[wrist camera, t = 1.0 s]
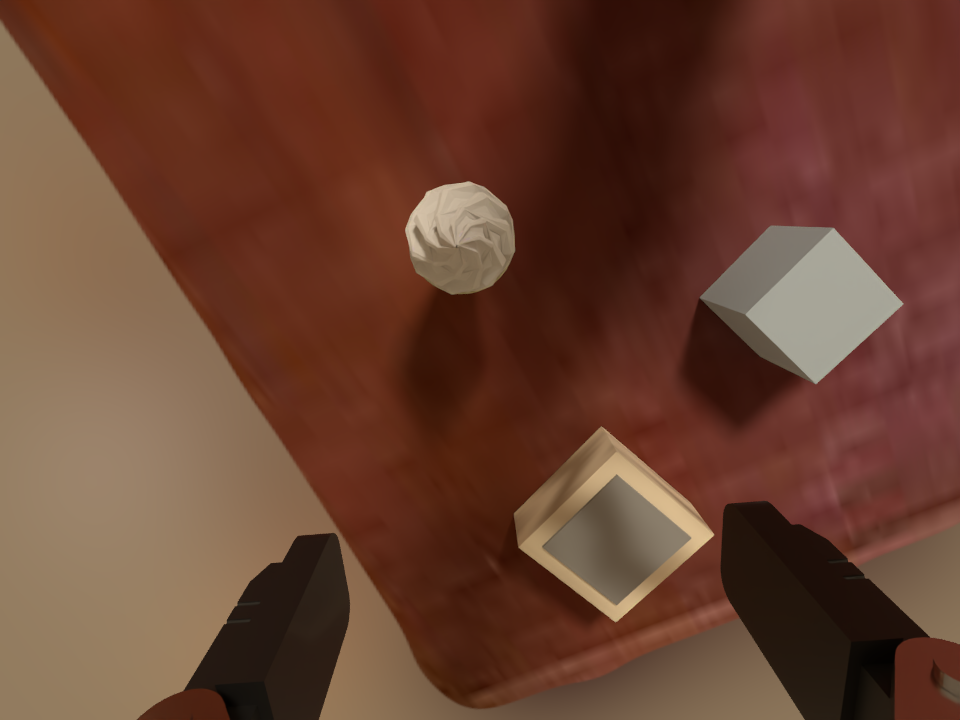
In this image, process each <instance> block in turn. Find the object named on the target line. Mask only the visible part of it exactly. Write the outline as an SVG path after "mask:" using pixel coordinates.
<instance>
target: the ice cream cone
mask: <svg viewBox="0 0 960 720" xmlns="http://www.w3.org/2000/svg"><path fill="white" fill-rule="evenodd" d="M405 232H406V236H407V239H408V243H409V249H410V258H411V261H412V263H413V266H414V268H415V271H416V273H418V274H419V275H421V276H423V277H424V278H425V279H426V280H427V281H428V282H430V283H431V284H432V285H433V286H435V287H437V288H439V289H441V290H443V291H446V292H448V293H450V294H451V295H454V294H470V293H474V292H478V291H481V290H483V289H486V288H487V287H490V286H493V284H494V283H495V282H496V281H497V280H498V279H499V278H500V277H501V276H502V275H503V273H504V272H505V271H506V269H507V267H508V266H509V264H510V262H511V259H512V257H513V255H514V252H515V234H514V228H513V219H512V217H511V215H510V213H509V211H508V208H507V206H506V205H505V204H503V203H502V202H501V201H500V200H499V199H498V198H497V197H496V196H494V195H493V194H492V193H491V192H490V191H489V190H487V189H486V188H485V187H483V186H480V185H477V184H474V183H472V182H469V181H468V182H465V183H457V184H449V185H444V186H440V187H438V188H435V189H433V190H431V191H428V192H427V193H426V195H425V197H424V198H423V200H422V201H421V202H420V203H419V205H418V206H417V207H416V208H415V210H414V211H413V212H412V214H411V216H410V218H409V221H408V224H407V226H406V229H405Z"/></svg>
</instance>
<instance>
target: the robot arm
mask: <svg viewBox="0 0 960 720" xmlns="http://www.w3.org/2000/svg"><path fill="white" fill-rule="evenodd" d="M721 578H722V583H723V586H724V590H725V592H726V595H727V597H728V599H729V601H730V603H731V604H732V606H733V608H734V609H735V611H736V612H737V614H738V615H739V617H740V619H741V620H742V622H743V623H744V625H745V626H746V628H747V630H748V631H749V633H750V634H751V635H752V637H753V639H754V641H755V642H756V644H757V645H758V647H759V648H760V650H761V652H762V653H763V655H764V656H765V658H766V659H767V661H768V662H769V664H770V666H771V667H772V669H773V670H774V672H775V673H776V675H777V677H778V678H779V680H780V681H781V683H782V684H783V686H784V688H785V689H786V691H787V692H788V694H789V696H790V697H791V699H792V700H793V702H794V703H795V705H796V707H797V708H798V710H799V711H800V713H801V714H802V716H803V718H804V719H805V720H960V645H959V644H957V643H954V642H950V641H946V640H942V639H936V638H930V637H929V636H928V635H927V634H926V633H925V632H924V631H923V630H922V629H921V628H920V627H919V626H918V625H917V624H916V623H915V622H914V621H913V620H911V619H910V618H909V617H908V616H907V615H906V614H905V613H904V612H903V611H902V610H901V609H900V608H899V607H898V606H897V605H896V604H895V603H894V602H893V601H892V600H890V599H889V598H888V597H887V596H886V595H885V594H884V593H883V592H882V591H881V590H880V589H879V588H878V587H877V586H876V585H875V584H874V583H872V582H871V580H869V579H865V577H864V574H863V573H862V572H861V571H860V570H859V569H858V568H857V567H856V566H855V565H854V564H853V563H852V562H848V560H847V558H846V557H845V556H844V555H843V554H842V553H841V552H840V551H839V550H838V549H837V548H836V547H835V546H834V545H833V544H832V543H831V542H830V541H828V540H827V539H826V538H824V537H822V536H820V535H818V534H817V533H815V532H813V531H811V530H809V529H808V528H806V527H804V526H802V525H800V524H797V525H791V524H790V523H789V522H788V521H787V519H786V518H785V517H784V516H783V515H782V514H781V513H780V512H779V511H778V510H777V509H776V508H775V507H774V506H773V505H772V504H770V503H769V502H767V501H758V502H745V503H732V504H727V505H726V506H725V509H724V513H723V530H722V550H721ZM349 613H350V600H349V592H348V586H347V582H346V576H345V570H344V565H343V560H342V554H341V549H340V544H339V540H338V537H337V535H336V534H335V533H329V534H315V535H303V536H298V537H297V538H296V539H295V540H294V542H293V544H292V546H291V548H290V549H289V551H288V553H287V555H286V556H285V558H284V560H283V562H282V563H271V564H270V565H268V566H267V567H266V568H265V569H264V570H263V571H262V572H261V573H259V574H258V575H257V576H256V577H255V578H254V579H253V580H251V581H250V583H249V584H248V586H247V588H246V589H245V591H244V593H243V595H242V596H241V597H240V599H239V601H238V605H237V606H236V607H235V608H234V609H233V611H232V613H231V614H230V616H229V617H228V619H227V624H224V625H223V627H222V629H221V630H220V632H219V634H218V636H217V637H216V639H215V640H214V642H213V643H212V645H211V647H210V649H209V650H208V652H207V653H206V655H205V657H204V658H203V660H202V662H201V663H200V665H199V667H198V668H197V670H196V671H195V673H194V675H193V676H192V678H191V680H190V681H189V683H188V684H187V686H186V688H185V690H184V691H182V692H180V693H177V694H174V695H172V696H170V697H168V698H166V699H164V700H162V701H161V702H159V703H157V704H155V705H154V706H153V707H151V708H150V709H148V710H147V711H146V712H145V713H144V714H142V715H141V716H140V717H139V718H138V719H137V720H319V717H320V714H321V710H322V707H323V704H324V701H325V698H326V694H327V691H328V688H329V685H330V682H331V678H332V675H333V672H334V669H335V666H336V662H337V659H338V656H339V653H340V649H341V646H342V643H343V640H344V637H345V633H346V630H347V627H348V622H349Z"/></svg>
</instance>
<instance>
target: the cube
mask: <svg viewBox="0 0 960 720" xmlns="http://www.w3.org/2000/svg"><path fill="white" fill-rule="evenodd" d="M700 299H701V300H702V301H703V302H704V303H705V304H706V305H707V306H708V307H709V308H710V309H711V310H712V311H713V312H714V313H715V314H717V315H718V316H719V317H720V318H721V319H722V320H723V321H724V322H725V323H726V324H727V325H728V326H729V327H730V328H731V329H732V330H733V331H734V332H735V333H736V334H737V335H738V336H739V337H740V338H741V339H742V340H743V341H744V342H745V343H746V344H747V345H748V346H749V347H750V348H751V349H753V350H754V351H755V352H756V353H757V354H758V355H759V356H760V357H762V358H764V359H766V360H768V361H770V362H772V363H774V364H776V365H778V366H780V367H782V368H784V369H786V370H788V371H790V372H792V373H794V374H796V375H798V376H800V377H802V378H804V379H806V380H808V381H810V382H812V383H814V384H817V383H818V382H819V381H820V380H821V379H822V378H823V377H824V376H825V375H826V374H828V373H829V372H830V371H831V370H832V369H833V368H834V367H835V366H836V365H837V364H838V363H840V362H841V361H842V360H843V359H844V358H845V357H846V356H847V355H848V354H849V353H851V352H852V351H853V350H854V349H855V348H856V347H857V346H858V345H859V344H860V343H861V342H863V341H864V340H865V339H866V338H867V337H868V336H869V335H870V334H871V333H872V332H873V331H875V330H876V329H877V328H878V327H879V326H880V325H881V324H882V323H883V322H884V321H885V320H887V319H888V318H889V317H890V316H891V315H892V314H893V313H894V312H895V311H896V310H897V309H899V308H900V307H901V306H902V305H903V303H902V302H901V301H900V300H899V299H898V298H897V296H896V295H895V294H894V293H893V292H892V291H891V290H890V289H889V288H888V287H887V286H886V284H885V283H884V282H883V281H882V280H881V279H880V278H879V277H878V276H877V275H876V274H875V273H874V271H873V270H872V269H871V268H870V267H869V266H868V265H867V264H866V263H865V262H864V261H863V260H862V258H861V257H860V256H859V255H858V254H857V253H856V252H855V251H854V250H853V249H852V248H851V246H850V245H849V244H848V243H847V242H846V241H845V240H844V239H843V238H842V237H841V236H840V235H839V233H838V232H837V231H836V230H835V229H834V228H821V227H792V226H770V227H769V228H768V229H767V230H766V231H765V232H764V233H763V234H762V235H761V236H760V237H759V238H758V239H757V240H756V241H755V242H754V243H753V244H752V245H751V246H750V247H749V248H748V249H747V250H746V251H745V252H744V253H743V254H742V255H741V256H740V257H739V258H738V259H737V260H736V261H735V262H734V263H733V264H732V265H731V266H730V267H729V268H728V269H727V270H726V271H725V272H724V273H723V274H722V275H721V276H720V277H719V278H718V279H717V280H716V281H715V282H714V283H713V284H712V285H711V286H710V287H709V288H708V289H707V290H706V291H705V292H704V293H703V294H702V296H701V297H700Z"/></svg>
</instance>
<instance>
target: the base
mask: <svg viewBox="0 0 960 720" xmlns="http://www.w3.org/2000/svg"><path fill="white" fill-rule="evenodd" d="M514 519H515V526H516V534H517V541H518V548H520V549H521V550H522V551H524V552H525V553H526V554H528V555H529V556H530V557H531V558H533V559H534V560H535V561H537V562H538V563H539V564H541V565H542V566H543V567H544V568H546V569H547V570H548V571H550V572H551V573H552V574H554V575H555V576H556V577H557V578H559V579H560V580H561V581H563V582H564V583H565V584H567V585H568V586H569V587H570V588H572V589H573V590H574V591H576V592H577V593H578V594H580V595H581V596H582V597H584V598H585V599H586V600H587V601H589V602H590V603H591V604H593V605H594V606H595V607H597V608H598V609H599V610H600V611H602V612H603V613H604V614H606V615H607V616H608V617H610V618H611V619H612V620H613V621H615V622H617V621H618V620H619V619H620V618H621V617H622V616H624V615H625V614H626V613H627V612H628V611H629V610H630V609H632V608H633V607H634V606H635V605H636V604H637V603H638V602H639V601H641V600H642V599H643V598H644V597H645V596H646V595H647V594H648V593H650V592H651V591H652V590H653V589H654V588H655V587H656V586H657V585H659V584H660V583H661V582H662V581H663V580H664V579H665V578H666V577H668V576H669V575H670V574H671V573H672V572H673V571H674V570H675V569H677V568H678V567H679V566H680V565H681V564H682V563H683V562H685V561H686V560H687V559H688V558H689V557H690V556H691V555H692V554H694V553H695V552H696V551H697V550H698V549H699V548H700V547H701V546H703V545H704V544H705V543H706V542H707V541H708V540H709V539H710V538H712V537H713V536H714V534H713V532H712V531H711V530H710V528H709V527H708V526H707V524H706V523H705V522H704V520H703V519H702V518H701V516H700V515H699V514H698V512H697V511H696V510H695V508H694V507H693V506H692V504H691V503H690V502H689V501H688V500H687V499H686V498H684V497H683V496H682V495H681V494H680V493H679V492H677V491H676V490H675V489H674V488H673V487H672V486H670V485H669V484H668V483H667V482H666V481H665V480H663V479H662V478H661V477H660V476H659V475H658V474H656V473H655V472H654V471H653V470H652V469H651V468H649V467H648V466H647V465H646V464H645V463H644V462H643V461H641V460H640V459H639V458H638V457H637V456H636V455H634V454H633V453H632V452H631V451H630V450H629V449H627V448H626V447H625V446H624V445H623V444H622V443H620V442H619V441H618V440H617V439H616V438H615V437H613V436H612V435H611V434H610V433H609V432H608V431H607V430H605V429H604V428H603V427H602V426H601V427H600V428H599V429H598V430H597V431H596V432H595V433H594V434H593V435H592V436H591V437H590V438H589V439H588V440H587V441H586V442H585V443H584V444H583V445H582V446H581V447H580V448H579V449H578V450H577V451H576V452H575V453H574V454H573V455H572V456H571V457H570V458H569V459H568V460H567V461H566V462H565V463H564V464H563V465H562V466H561V467H560V468H559V469H558V470H557V471H556V472H555V473H554V474H553V475H552V476H551V477H550V478H549V479H548V480H547V481H546V482H545V483H544V484H543V485H542V486H541V487H540V488H539V489H538V490H537V491H536V492H535V493H534V494H533V495H532V496H531V497H530V498H529V499H528V500H527V501H526V502H525V503H524V504H523V505H522V506H521V507H520V508H519V509H518V510H517V511H516V512H515V513H514Z"/></svg>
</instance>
